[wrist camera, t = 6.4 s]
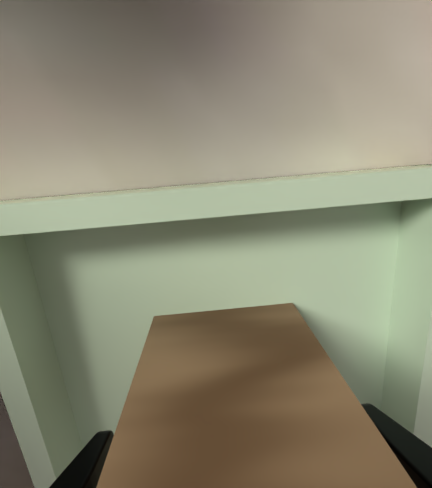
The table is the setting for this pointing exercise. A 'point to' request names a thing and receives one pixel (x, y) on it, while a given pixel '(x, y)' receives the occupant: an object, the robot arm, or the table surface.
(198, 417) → the walnut block
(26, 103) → the table surface
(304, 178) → the tray
